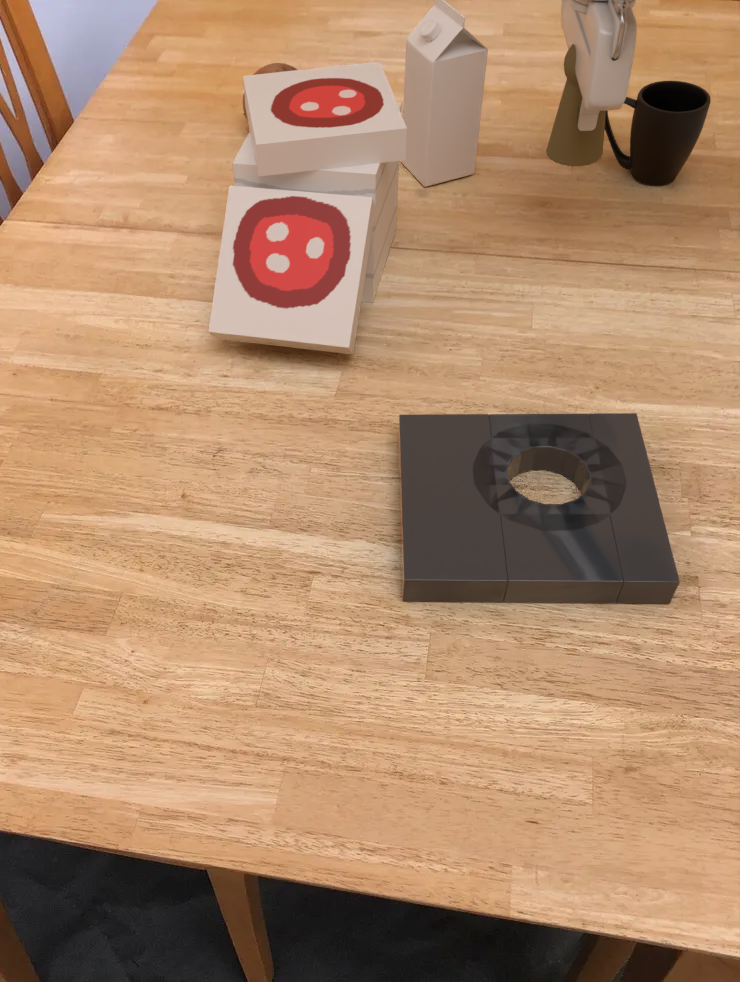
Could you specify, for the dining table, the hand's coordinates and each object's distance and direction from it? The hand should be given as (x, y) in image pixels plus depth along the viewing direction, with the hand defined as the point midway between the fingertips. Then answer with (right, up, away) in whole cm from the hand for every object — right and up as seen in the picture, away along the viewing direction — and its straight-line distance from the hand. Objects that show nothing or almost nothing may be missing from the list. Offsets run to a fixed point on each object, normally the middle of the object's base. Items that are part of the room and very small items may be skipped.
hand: (581, 113), depth 97 cm
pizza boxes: (-28, -16, +8) cm, 33 cm away
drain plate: (-10, -44, -14) cm, 47 cm away
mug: (+13, +2, +19) cm, 23 cm away
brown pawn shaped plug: (0, -3, +3) cm, 4 cm away
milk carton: (-12, +4, +22) cm, 25 cm away
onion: (-32, +12, +30) cm, 45 cm away
